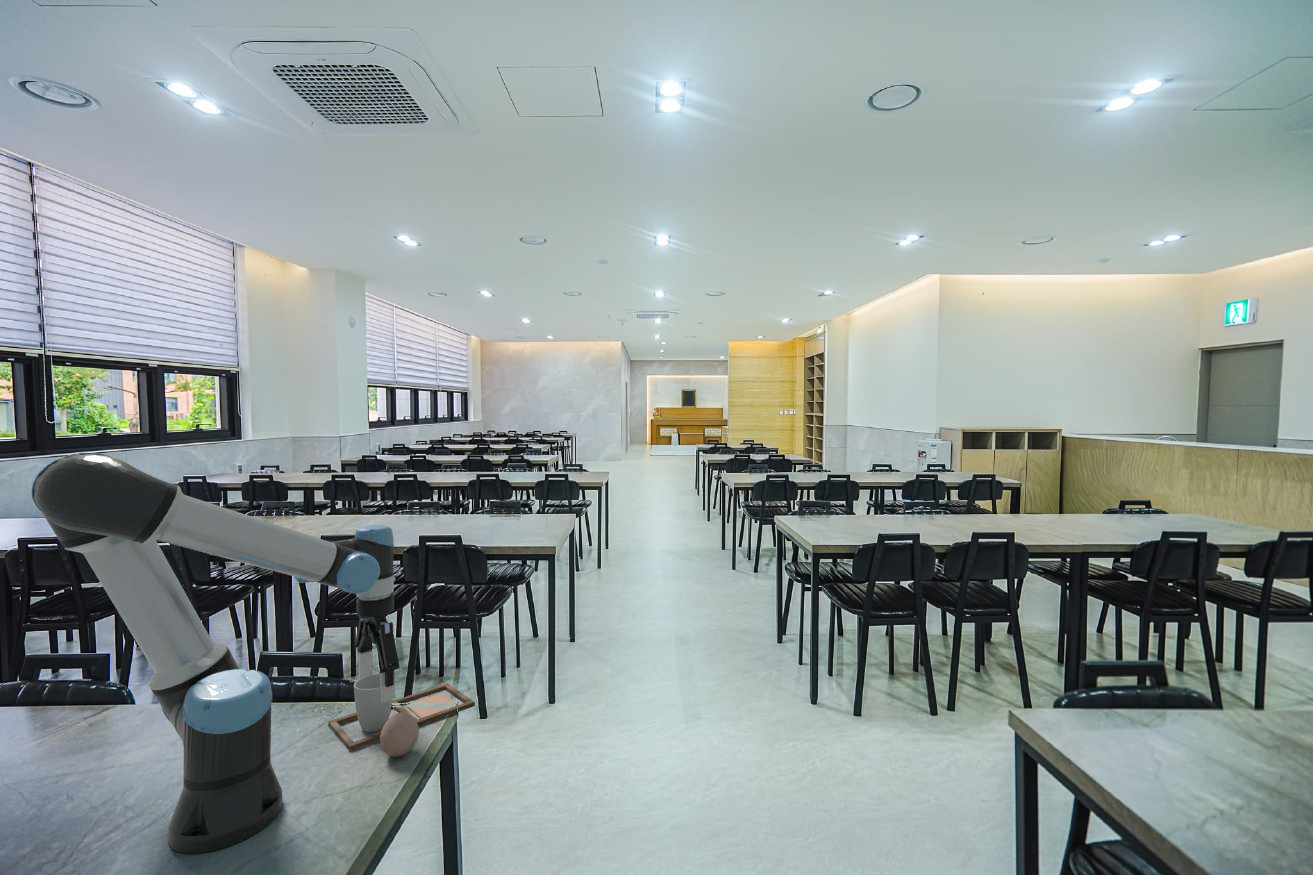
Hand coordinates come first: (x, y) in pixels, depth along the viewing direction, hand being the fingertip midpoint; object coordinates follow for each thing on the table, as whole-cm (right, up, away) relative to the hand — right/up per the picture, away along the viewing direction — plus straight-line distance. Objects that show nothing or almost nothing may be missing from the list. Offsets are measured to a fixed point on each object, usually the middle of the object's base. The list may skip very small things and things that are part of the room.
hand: (376, 689), depth 125 cm
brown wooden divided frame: (+4, -8, +4) cm, 10 cm away
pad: (+9, -8, +9) cm, 15 cm away
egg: (+10, -8, -11) cm, 18 cm away
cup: (0, -8, 0) cm, 8 cm away
